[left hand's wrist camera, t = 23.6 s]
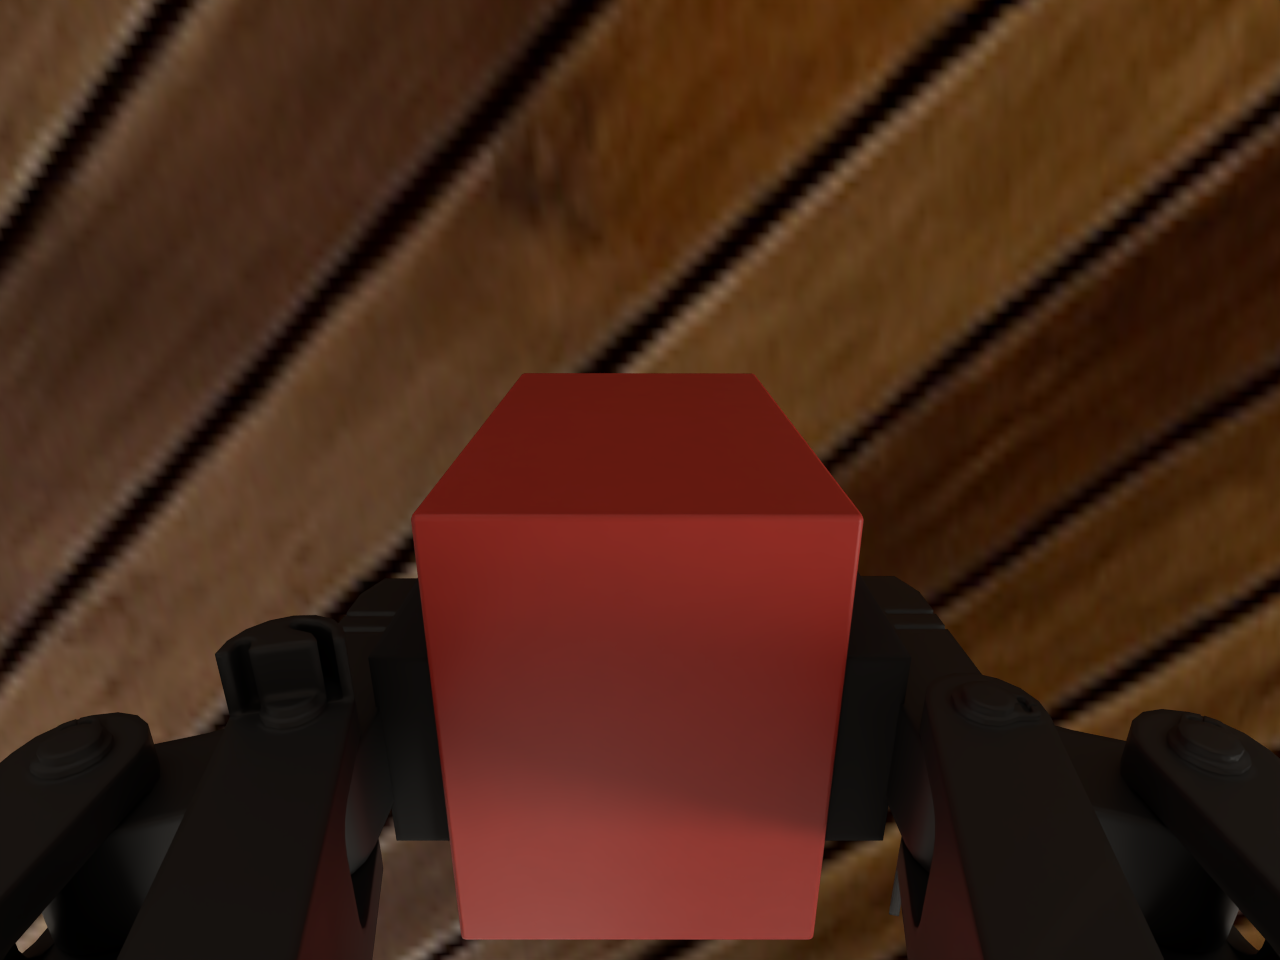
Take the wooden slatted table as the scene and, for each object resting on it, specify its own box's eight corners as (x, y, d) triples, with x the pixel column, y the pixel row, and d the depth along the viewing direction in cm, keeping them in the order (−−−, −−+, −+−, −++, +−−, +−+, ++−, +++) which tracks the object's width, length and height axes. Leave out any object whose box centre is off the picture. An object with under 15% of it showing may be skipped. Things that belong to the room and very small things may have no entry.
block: (755, 373, 14) (866, 516, 7) (739, 636, 16) (814, 942, 9) (521, 372, 14) (407, 515, 7) (536, 635, 16) (460, 942, 9)
